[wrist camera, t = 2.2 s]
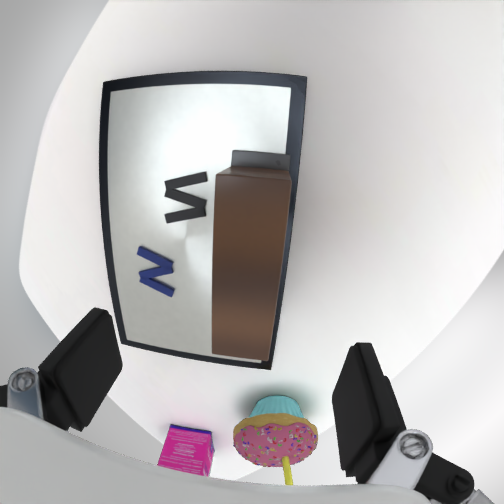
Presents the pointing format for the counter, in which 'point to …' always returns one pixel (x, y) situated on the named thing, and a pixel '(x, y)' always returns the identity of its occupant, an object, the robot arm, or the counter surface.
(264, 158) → the eraser
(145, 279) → the scribble
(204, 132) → the whiteboard
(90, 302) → the counter surface
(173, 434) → the supplement box
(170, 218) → the scribble
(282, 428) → the cupcake
